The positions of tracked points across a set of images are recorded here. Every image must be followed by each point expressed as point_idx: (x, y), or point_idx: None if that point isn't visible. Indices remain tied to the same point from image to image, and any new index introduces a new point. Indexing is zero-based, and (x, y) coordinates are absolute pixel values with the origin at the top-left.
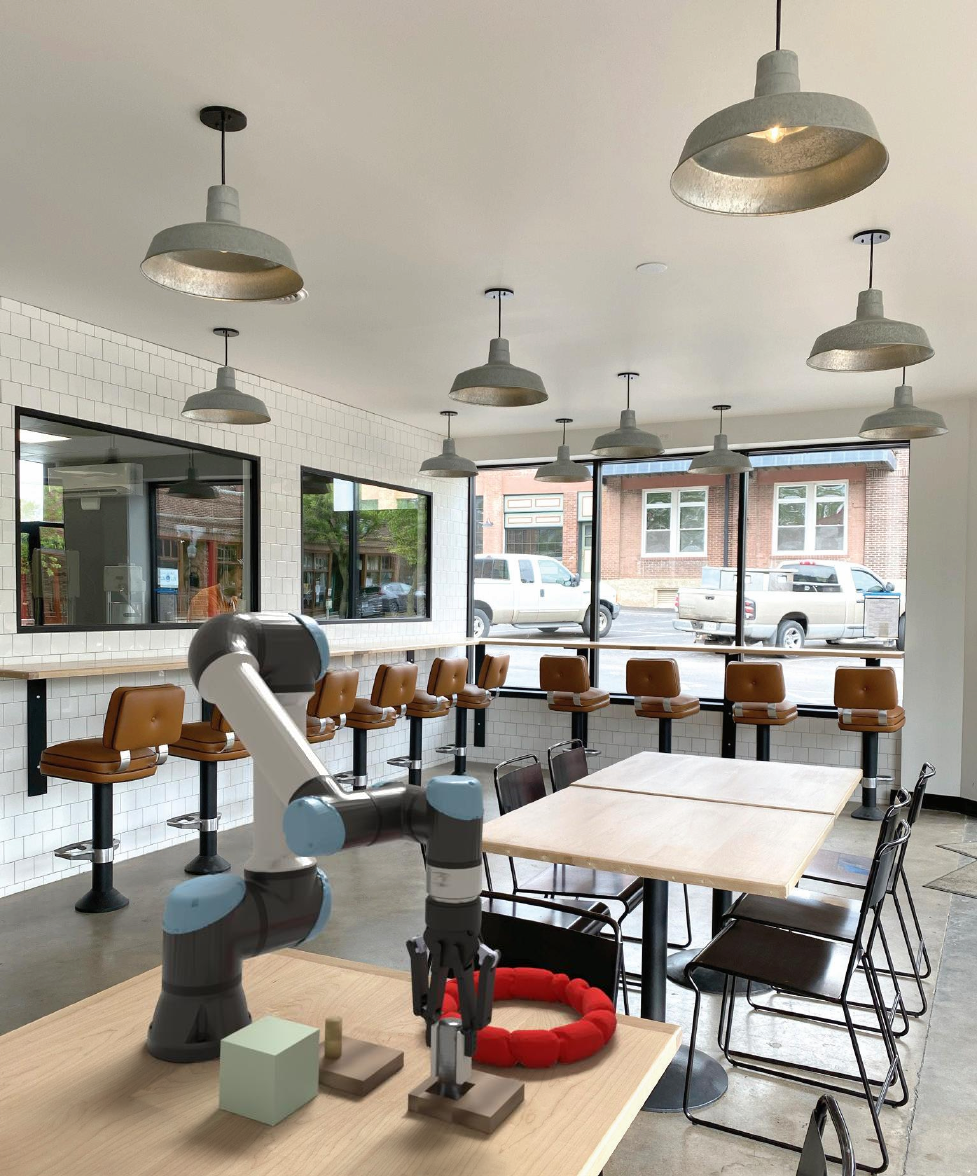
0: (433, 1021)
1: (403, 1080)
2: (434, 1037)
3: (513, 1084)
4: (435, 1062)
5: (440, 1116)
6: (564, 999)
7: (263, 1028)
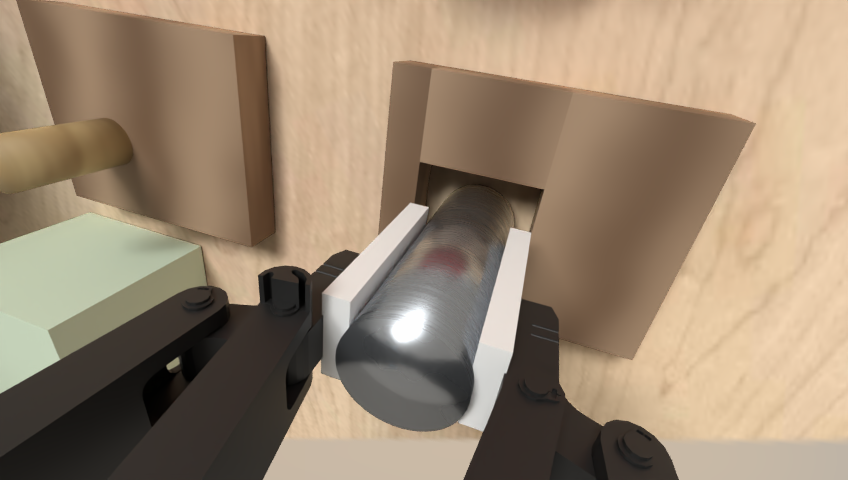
0: (313, 363)
1: (310, 126)
2: None
3: (699, 150)
4: None
5: None
6: None
7: None
